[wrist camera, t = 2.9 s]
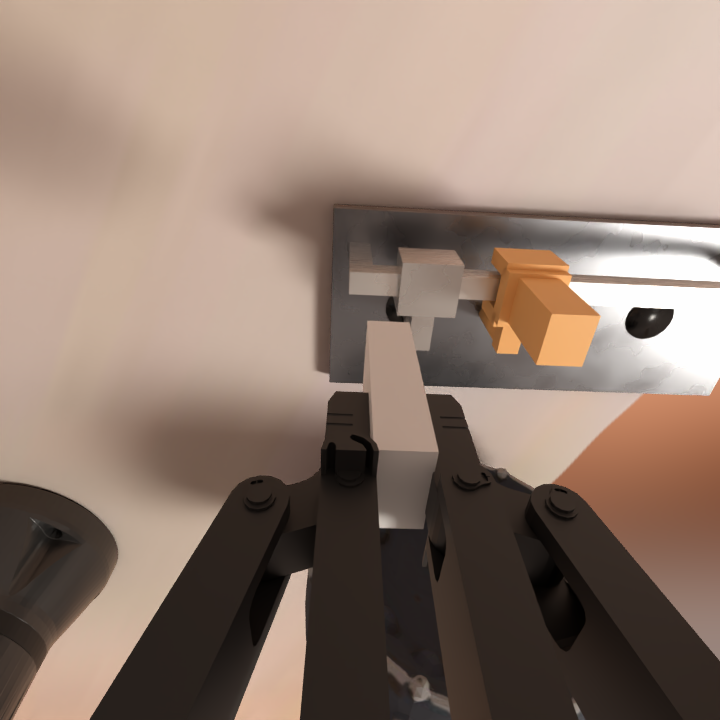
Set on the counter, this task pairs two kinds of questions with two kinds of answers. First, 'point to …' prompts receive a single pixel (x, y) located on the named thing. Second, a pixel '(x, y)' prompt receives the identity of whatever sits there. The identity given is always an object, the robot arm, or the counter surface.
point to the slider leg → (538, 309)
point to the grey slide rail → (452, 282)
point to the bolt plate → (584, 256)
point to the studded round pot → (415, 621)
